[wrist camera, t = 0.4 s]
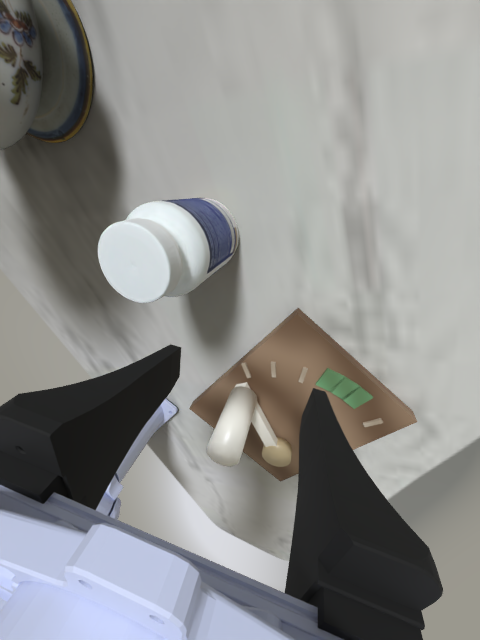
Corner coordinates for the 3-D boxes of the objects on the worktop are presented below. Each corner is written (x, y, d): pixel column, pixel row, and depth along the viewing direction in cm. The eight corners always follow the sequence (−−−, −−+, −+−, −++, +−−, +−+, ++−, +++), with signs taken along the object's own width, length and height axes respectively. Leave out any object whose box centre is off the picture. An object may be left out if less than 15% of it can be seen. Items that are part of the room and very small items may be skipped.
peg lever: (296, 455, 27) (289, 532, 21) (270, 457, 28) (257, 530, 22) (254, 375, 24) (232, 440, 18) (227, 381, 25) (198, 443, 19)
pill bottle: (196, 181, 19) (100, 175, 11) (253, 227, 19) (203, 256, 11) (167, 240, 22) (73, 273, 13) (217, 279, 22) (155, 334, 14)
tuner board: (281, 471, 31) (280, 482, 30) (193, 401, 30) (188, 409, 29) (412, 411, 23) (418, 423, 21) (298, 308, 21) (296, 315, 20)
